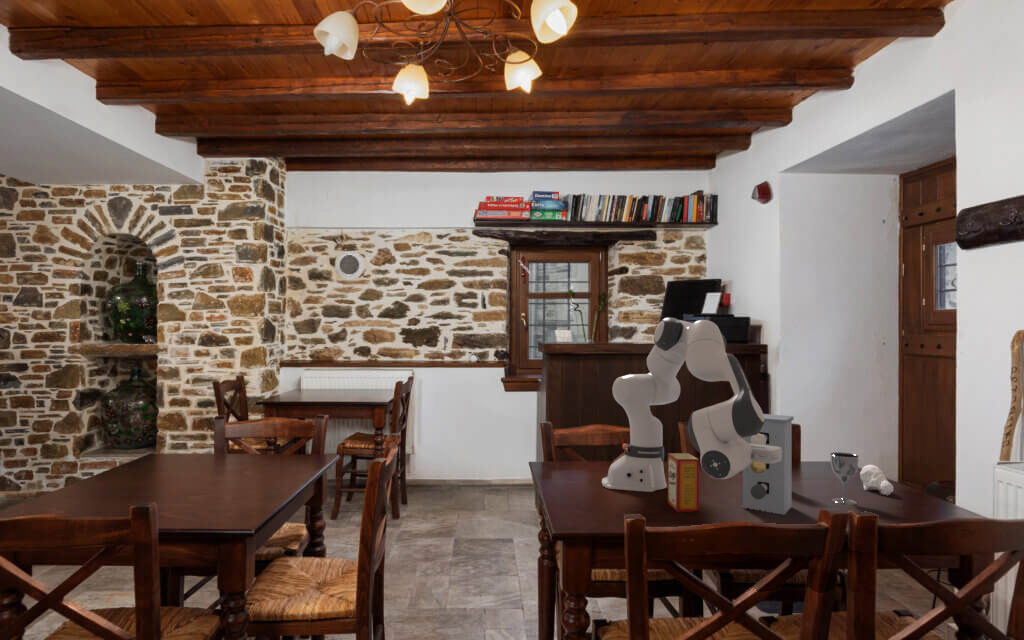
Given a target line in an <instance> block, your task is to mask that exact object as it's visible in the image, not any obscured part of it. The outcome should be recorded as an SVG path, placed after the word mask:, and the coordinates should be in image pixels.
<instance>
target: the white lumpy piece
mask: <svg viewBox="0 0 1024 640" xmlns="http://www.w3.org/2000/svg"><path fill="white" fill-rule="evenodd" d="M859 476H860V480H861V482H862V484H863V485H862V486H863V489H864V491H868V490H869V489H870V488H873V489H874V490H877V491H879V493H880V494H882V495H885V496H886V497H887V496H888V495H889V496H890V495H891V494H892V492H894V486H893V484H892V483H891V482H890V481H889V480H888V479H887V477H886V475H885V474H884V472H883V471H882V470H881V469H880V468H879V467H878V466H877V465H875V464H867V465H864V466H863V467H862V468H861V471H860V472H859ZM889 496H888V497H889Z"/></svg>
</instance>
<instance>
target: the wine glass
mask: <svg viewBox="0 0 1024 640" xmlns="http://www.w3.org/2000/svg"><path fill="white" fill-rule="evenodd" d="M859 460H860V459H859V455H858V454H854V453H851V452H842V451H840V452H839V451H835V452H831V453H830V464H831V465H830V466H831V469H832V472H833V473H834V474H835V476H836V477H837V478H838V479H839V480H840V482H841V486H842V497H841V498H832V499H831V501H832V502H834V503H835V504H838V505H839V504H840V505H846V506H851V505H854V504H855V505H857V504H858V501H855V500H852V499H848V498H847V495H846V494H847V486H848V483H849V481H850V480H851V479H852V478H853V477H854V476H856V475H857V472H858V469H859ZM855 505H854V506H855Z"/></svg>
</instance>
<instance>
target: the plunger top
mask: <svg viewBox="0 0 1024 640" xmlns="http://www.w3.org/2000/svg"><path fill="white" fill-rule="evenodd" d="M767 440H769V434H768V433H763V434H759V433H758V434H757V435H753V436H752V437H751V443H752V444H759V445H765V444H766V441H767Z"/></svg>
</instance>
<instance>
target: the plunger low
mask: <svg viewBox="0 0 1024 640" xmlns="http://www.w3.org/2000/svg"><path fill="white" fill-rule="evenodd" d="M768 489H769V483H765V482H763V483H762V484H760V485H759V484H757V485H754V486H753V487H752V488H751V495H752V496H753V497H754V498H756V499H762V498H763V497H764V496H765V495H766V491H767V490H768Z"/></svg>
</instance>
